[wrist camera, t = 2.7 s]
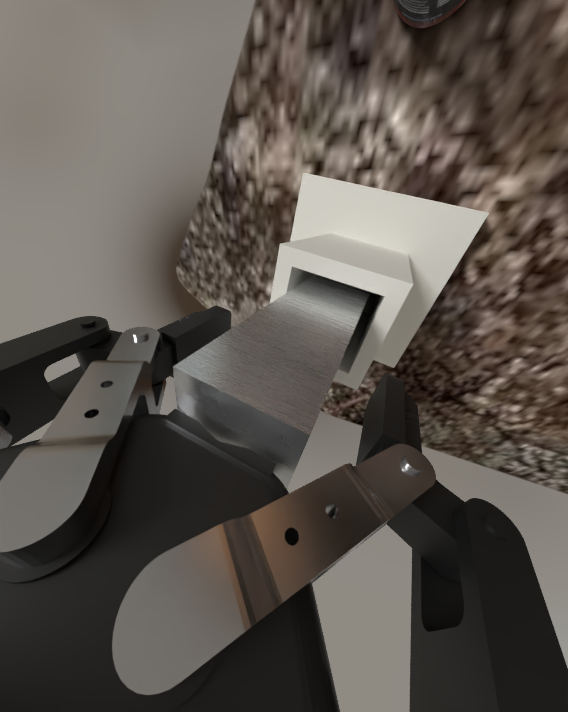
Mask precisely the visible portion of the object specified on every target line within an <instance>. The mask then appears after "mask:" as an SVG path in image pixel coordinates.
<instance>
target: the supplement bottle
mask: <svg viewBox="0 0 568 712" xmlns="http://www.w3.org/2000/svg"><path fill="white" fill-rule="evenodd" d="M465 1H466V0H394V5H395V8H396V10H397V13H398V14H399V16H400V18H401V19H402V20H403V21H404V22H405V23H406V24H408V25H409V26H412V27H414V28H427V27H430V26H433V25H436V24H438V23H440V22H442V21H443V20H445V19H446V18H448V17H449V16H450V15H452V14H453V13H454V12H455V11H456V10H457V9H458V8H459V7H460V6H461V5H462V4H463V3H464V2H465Z"/></svg>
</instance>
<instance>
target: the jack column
mask: <svg viewBox="0 0 568 712" xmlns="http://www.w3.org/2000/svg"><path fill="white" fill-rule="evenodd" d="M369 294H370V292H369V291H366V290H363V289H360V288H357V287H354V286H351V285H348V284H345V283H342V282H339V281H335V280H332V279H329V278H326V277H323V276H320V275H317V274H315V275H313V276H312V277H310V278H309V279H307V280H306V281H304V282H303V283H301V284H299V285H298V286H296V287H295V288H293V289H292V290H290V291H289V292H287V293H286V294H284V295H283V296H281V297H279V298H278V299H276V300H275V301H273V302H272V303H270V304H269V305H267V306H266V307H264V308H262V309H261V310H259V311H258V312H256V313H255V314H253V315H252V316H250V317H249V318H247V319H246V320H244V321H242V322H241V323H239V324H238V325H236V326H235V327H233V328H232V329H230V330H229V331H227V332H225V333H224V334H222V335H221V336H219V337H218V338H216V339H215V340H213V341H212V342H210V343H209V344H207V345H205V346H204V347H202V348H201V349H199V350H198V351H196V352H195V353H193V354H192V355H190V356H189V357H187V358H185V359H184V360H182V361H181V362H179V363H178V364H176V365H175V366H173V374H174V382H175V391H176V400H177V408H178V410H179V411H181V412H182V413H184V414H186V415H188V416H190V417H192V418H193V419H195V420H197V421H199V422H200V423H201V424H202V425H203V426H204V428H205V429H206V430H207V431H208V432H209V433H210V434H211V435H212V436H213V437H214V438H215V439H217V440H218V441H221V442H224V443H228V444H232V445H236V446H240V447H244V448H248V449H250V450H252V451H254V452H256V453H258V454H260V455H261V456H263V457H265V458H267V459H269V460H271V461H272V462H274V463H276V467H275V470H274V474H275V475H276V476H277V477H278V478H279V479H280V481H281V482H282V483H283V484H284V486H285V487H286V489H287V487H288V485H289V482H290V480H291V478H292V475H293V473H294V471H295V469H296V466H297V464H298V462H299V459H300V457H301V454H302V452H303V450H304V448H305V445H306V443H307V441H308V438H309V436H310V434H311V431H312V429H313V426H314V424H315V422H316V419H317V417H318V415H319V412H320V410H321V408H322V405H323V403H324V401H325V398H326V396H327V393H328V391H329V389H330V386H331V384H332V382H333V379H334V377H335V375H336V372H337V370H338V367H339V365H340V363H341V360H342V358H343V356H344V353H345V351H346V349H347V346H348V344H349V341H350V339H351V337H352V334H353V332H354V330H355V327H356V325H357V322H358V320H359V318H360V315H361V313H362V311H363V308H364V306H365V304H366V301H367V299H368V296H369Z"/></svg>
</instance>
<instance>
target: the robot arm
mask: <svg viewBox="0 0 568 712" xmlns="http://www.w3.org/2000/svg"><path fill="white" fill-rule="evenodd" d="M230 326H231V312H230V311H229V310H226V309H224V308H221V307H219V306H214V307H212V308H209V309H207V310H205V311H201V312H196V313H193V314H191V315H188V316H187V317H184V318H182V319H180V321H179V320H177V321H175V322H173V323H171V324H169V325H167V326H164V327H162V328H160V329H158V330H156V329H153V328H149V327H136V328H131V329H128V330H126V331H125V332H123V333H122V332H117V331H112V330H110V329H109V325H108V322H107V320H106V319H104V318H101V317H96V316H85V317H79V318H75V319H72V320H69V321H66V322H63V323H60V324H57V325H54V326H51V327H48V328H45V329H42V330H40V331H36V332H33V333H31V334H28V335H25V336H22V337H19V338H16V339H13V340H10V341H7V342H4V343H1V344H0V712H340V709H339V705H338V700H337V696H336V691H335V687H334V682H333V677H332V673H331V668H330V664H329V659H328V655H327V650H326V646H325V641H324V636H323V632H322V628H321V623H320V618H319V614H318V609H317V604H316V600H315V595H314V591H313V586H312V583H313V582H314V581H316V580H317V579H318V578H319V577H321V576H322V575H323V574H324V573H326V572H327V571H328V570H329V569H331V568H332V567H333V566H334V565H336V564H337V563H338V562H339V561H341V560H342V559H343V558H344V557H345V556H347V555H348V554H349V553H350V552H352V551H353V550H354V549H356V548H357V547H358V546H359V545H361V544H362V543H363V542H364V541H366V540H367V539H368V538H369V537H371V536H372V535H373V534H374V533H376V532H377V531H378V530H379V529H381V528H382V527H383V526H385V525H386V524H387V525H388V526H389V527H390V528H391V529H392V530H394V531H395V532H396V533H397V534H398V535H399V536H400V537H401V538H402V539H403V540H404V541H405V542H406V543H407V544H408V545H410V546H411V547H412V597H411V598H412V599H411V600H412V601H411V602H412V603H411V660H410V661H411V662H410V712H568V668H567V665H566V662H565V659H564V657H563V653H562V651H561V648H560V645H559V642H558V639H557V636H556V633H555V630H554V627H553V624H552V621H551V618H550V615H549V612H548V609H547V606H546V603H545V600H544V597H543V594H542V591H541V588H540V585H539V583H538V579H537V576H536V573H535V570H534V567H533V564H532V562H531V559H530V556H529V553H528V550H527V547H526V544H525V541H524V539H523V537H522V535H521V533H520V532H519V530H518V529H517V527H516V526H515V525H514V524H513V522H512V521H511V520H510V519H509V518H508V517H507V516H506V515H505V514H504V513H503V512H501V510H499V509H498V508H497V507H495V506H494V505H492V504H491V503H489V502H487V501H485V500H482V499H478V498H472V499H469V500H468V501H466V502H464V501H463V500H461V499H460V498H459V497H457V496H456V495H454V494H453V493H452V492H451V491H449V490H448V489H447V488H445V487H444V486H443V485H442V484H440V483H439V482H438V481H437V480H436V475H435V471H434V469H433V466H432V465H431V463H430V462H429V461H428V459H427V458H426V457H425V456H424V455H423V454H422V448H421V438H420V427H419V425H418V424H419V417H418V407H417V404H416V403H415V401H414V399H413V398H412V396H410V395H408V394H406V393H404V381H403V380H401V379H399V378H396V377H394V376H391V375H389V374H385V375H384V376H383V378H382V379H381V381H380V383H379V384H378V386H377V388H376V389H375V391H374V393H373V394H372V396H371V398H370V400H369V402H368V404H367V407H366V411H365V417H364V423H363V428H362V434H361V440H360V446H359V452H358V457H357V463H356V466H354V467H353V466H352V464H350V463H349V464H345V465H343V466H341V467H339V468H337V469H335V470H333V471H332V472H330V473H328V474H326V475H324V476H322V477H320V478H318V479H316V480H314V481H312V482H310V483H309V484H307V485H305V486H303V487H301V488H299V489H297V490H295V491H293V492H291V493H290V494H289V493H288V491H287V489H286V487H285V486H284V484H283V483H282V482H281V481H280V479H279V478H278V477H277V476H276V475H275V474H274V470H275V467H276V463H274V462H272V461H271V460H269V459H267V458H265V457H263V456H261V455H260V454H258V453H256V452H254V451H252V450H250V449H248V448H244V447H240V446H236V445H232V444H228V443H224V442H221V441H218V440H217V439H215V438H214V437H213V436H212V435H211V434H210V433H209V432H208V431H207V430H206V429H205V428H204V426H203V425H202V424H201V423H200V422H199V421H197V420H195V419H193V418H192V417H190V416H188V415H186V414H184V413H182V412H181V411H179V410H177V409H174V410H173V411H172V412H171V413H170V414H168V415H161V414H159V413H160V408H161V403H162V400H163V396H164V391H165V387H166V378H167V377H169V376H171V377H173V378H174V374H173V366H175V365H176V364H178V363H179V362H181V361H182V360H184V359H185V358H187V357H189V356H190V355H192V354H193V353H195V352H196V351H198V350H199V349H201V348H202V347H204V346H205V345H207V344H209V343H210V342H212V341H213V340H215V339H216V338H218V337H219V336H221V335H222V334H224V333H225V332H227V331H229V330H230ZM75 353H76V356H77V358H78V361H79V363H80V367H78V368H76V369H74V370H72V371H70V372H68V373H66V374H64V375H62V376H60V377H58V378H56V379H54V380H52V381H50V382H47V381H46V379H45V377H44V372H45V370H46V368H47V367H48V366H49V365H51V364H53V363H55V362H57V361H60V360H62V359H64V358H66V357H68V356H71V355H73V354H75ZM53 419H54V420H53ZM52 420H53V422H52V423H51V425H50V426H49V428H48V429H47V431H46V432H45V434H44V435H43V437H42V438H41V439H39V440H36V441H31V442H27V443H23V444H19V445H15V446H12V445H13V444H15V443H17V442H18V441H20V440H21V439H22V438H24V437H26V436H28V435H29V434H31V433H32V432H34V431H36V430H37V429H39V428H40V427H42V426H44V425H45V424H47V423H48V422H50V421H52ZM10 446H11V447H10Z"/></svg>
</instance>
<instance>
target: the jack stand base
mask: <svg viewBox="0 0 568 712" xmlns="http://www.w3.org/2000/svg"><path fill="white" fill-rule="evenodd" d="M488 214H489V213H487V212H482V211H478V210H473V209H468V208H464V207H459V206H455V205H450V204H445V203H441V202H436V201H431V200H427V199H422V198H418V197H413V196H408V195H404V194H399V193H395V192H390V191H385V190H381V189H376V188H371V187H367V186H362V185H358V184H353V183H348V182H344V181H339V180H335V179H330V178H325V177H321V176H316V175H312V174H307V173H303V177H302V183H301V188H300V193H299V198H298V204H297V209H296V214H295V219H294V224H293V230H292V235H291V240H290V242H287V243H282V244H280V247H279V253H278V259H277V265H276V271H275V277H274V282H273V288H272V294H271V300H270V303H272V302H273V301H275V300H276V299H278V298H279V297H281V296H283V295H284V294H286V293H287V292H289V291H290V290H292V289H293V288H295V287H296V286H298V285H299V284H301V283H303V282H304V281H306V280H307V279H309V278H310V277H312V276H313V275H315V274H317V275H320V276H323V277H326V278H329V279H332V280H335V281H339V282H342V283H345V284H348V285H351V286H354V287H357V288H360V289H363V290H366V291H369V292H370V294H369V296H368V299H367V301H366V304H365V306H364V308H363V311H362V313H361V315H360V318H359V320H358V322H357V325H356V327H355V330H354V332H353V334H352V337H351V339H350V341H349V344H348V346H347V349H346V351H345V353H344V356H343V358H342V360H341V363H340V365H339V367H338V370H337V372H336V375H335V377H334V379H333V380H334V381H337V382H339V383H341V384H344V385H346V386H348V387H351V388H353V389H355V390H358V388H359V386H360V384H361V382H362V380H363V378H364V377H365V375H366V373H367V371H368V369H369V367H370V365H371V363H372V361H373V360H375V361H377V362H380V363H382V364H385V365H387V366H390V367H392V368H394V367H395V366H396V364H397V363H398V361H399V359H400V358H401V356H402V354H403V353H404V351H405V350H406V348H407V346H408V345H409V343H410V341H411V340H412V338H413V336H414V335H415V333H416V332H417V330H418V328H419V327H420V325H421V323H422V322H423V320H424V318H425V317H426V315H427V314H428V312H429V310H430V309H431V307H432V305H433V304H434V302H435V301H436V299H437V297H438V296H439V294H440V292H441V291H442V289H443V287H444V286H445V284H446V283H447V281H448V279H449V278H450V276H451V274H452V273H453V271H454V269H455V268H456V266H457V265H458V263H459V261H460V260H461V258H462V256H463V255H464V253H465V251H466V250H467V248H468V247H469V245H470V243H471V242H472V240H473V238H474V237H475V235H476V234H477V232H478V230H479V229H480V227H481V225H482V224H483V222H484V220H485V219H486V217H487V216H488Z"/></svg>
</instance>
